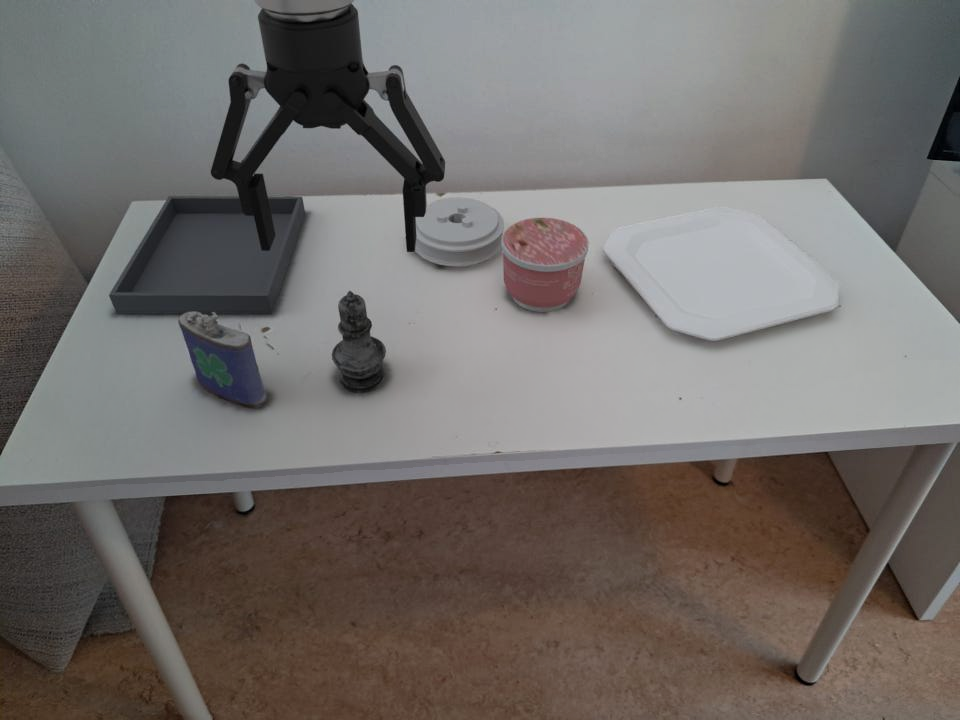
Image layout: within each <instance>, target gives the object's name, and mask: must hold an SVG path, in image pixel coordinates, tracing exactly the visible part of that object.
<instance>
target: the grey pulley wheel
mask: <svg viewBox="0 0 960 720" xmlns="http://www.w3.org/2000/svg"><path fill="white" fill-rule="evenodd" d="M504 228H505V221H504V217H503V216H502V214H501V213H500V212H499V211H498V210H497V209H496V208H494V207H492V206H491V205H489V204H487V203H486V202H484V201H481V200H478V199H475V198H470V197H461V196H458V197H446V198H441V199H438V200H434V201H432V202H430V203H427V206H426V213H425V216H424V217H416V235H417V237H416V245H415V253H416V254H417V255H418V256H420V257H421V258H422V259H424V260H426V261H428V262H430V263H433V264H436V265H440V266H446V267H467V266H474V265H476V264H477V265H478V264H481V263H483V262H486V261H488V260H490V259H492V258H493V257H495V256H496V255H497V254H499V252H501V250H502V246H501V240H502V235H503V234H504Z"/></svg>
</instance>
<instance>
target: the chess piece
mask: <svg viewBox="0 0 960 720" xmlns="http://www.w3.org/2000/svg"><path fill="white" fill-rule="evenodd" d="M337 307H338V314H339V320H340V321H339V323H338V325H337V331H338V332H339V334H340V335H341V336H342V340H341V341H339V342H338V343H337V344H335V346H334V347H333V349H332V352H331V361H332V362H333V364H334V365H335V366H336V368H337V369H338V370H339V373H338V383H339V384H340V386H341V387H342V388H343V389H344V390H346V391H348V392H350V393H354V394H363V393H370V392H372V391H375V390H376V389H378V388H380V387H381V386H382V385H383V384H384V382H385V380H386V377H387V373H386V369H385V367H384V365H383V363H384V359H385V358H386V355H387V349H386V346H385V344H384V343H383V342H382V341H381V340H380V339H379V338H377V337H375V336H373V335H372V336H371V330H372V326H373V323H372V320H371V319H370V318H369V317H368V311H367V304H366V301H365V299H364V297H362V296H361V295H360V294H355V293H354V292H353V291H351V290H348V292H347V293H346V295H344V296H343V297H341V298H340V300H339V301H338V304H337Z"/></svg>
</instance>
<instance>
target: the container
mask: <svg viewBox="0 0 960 720" xmlns="http://www.w3.org/2000/svg"><path fill="white" fill-rule="evenodd" d="M588 239H589V238H588V237H587V235H586V234H585V232H584V231H583V230H582V229H581V228H579V227H578V226H576V225H575V224H573V223H571V222H569V221H566V220H562V219H560V218H559V219H558V218H553V217H531V218H527V219H523V220H519V221H517V222H515V223H513V224H511V225H510V226H509V227H508V228H506V229H505V231H503V235H502V240H501V246H502V248H501V251H502V266H503V267H502V270H503V283H504V285H505V287H506V289H507V291H508V294H509V295H510V296H511V297H512V299H513V301H514V302H515V303H516V304H517V305H518V306H520V307H521V308H524V309H526V310H529V311H532V312H537V313H538V312H539V313H549V312H554V311H557V310H559V309H562V308H564V307H565V306H567V304H568V303H569V302H570V301H571V300H572V299H573V298H574V296H575V295H576V293H577V292H578V290H579V289H580V287H581V283H582V278H583V272H584V267H585V262H586V257H587V255H588V252H589V245H590V244H589V243H590V242H589V240H588Z"/></svg>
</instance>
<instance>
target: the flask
mask: <svg viewBox="0 0 960 720" xmlns="http://www.w3.org/2000/svg"><path fill="white" fill-rule="evenodd" d="M218 319H219V314H216V313H215V312H212V314H211V316H209V314H202V313H200V312H197V311H192V312H190V311H189V312H186V313H184V314H180V316H179V318H178V320H177V323H178V325H179V328H180V330H181V333H182V336H183V340H184V342H185V345H186V348H187V350H188V354H189V357H190V361H191V364H192V366H193V370H194V372H195V375H196V380H197V383H198V385H199V386H200V387H201V388H202V389H203V390H205V391H206V392H207V393H208V394H209V393H210V394H211V395H212V396H214V397H217V398H219V399H222V400H225V401H226V402H229V403H232V404H236V405H237V406H241V407H243V408H252V409H254V408H255V409H258V408H259V407H262V406H263V405H264V404H265V403H266V402H267V400H268V398H267V392H266V389H265V385H264V383H263V380H262V376H261V373H260V370H259V365H258V362H257V360H256V355H255V351H254V348H253V343H252V339H251V338H252V337H251V336H250V334H248V333H246V332H244V331H240V330H237V329H233V328H229V327H227V326H224V325H221V324H219V322H218Z"/></svg>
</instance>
